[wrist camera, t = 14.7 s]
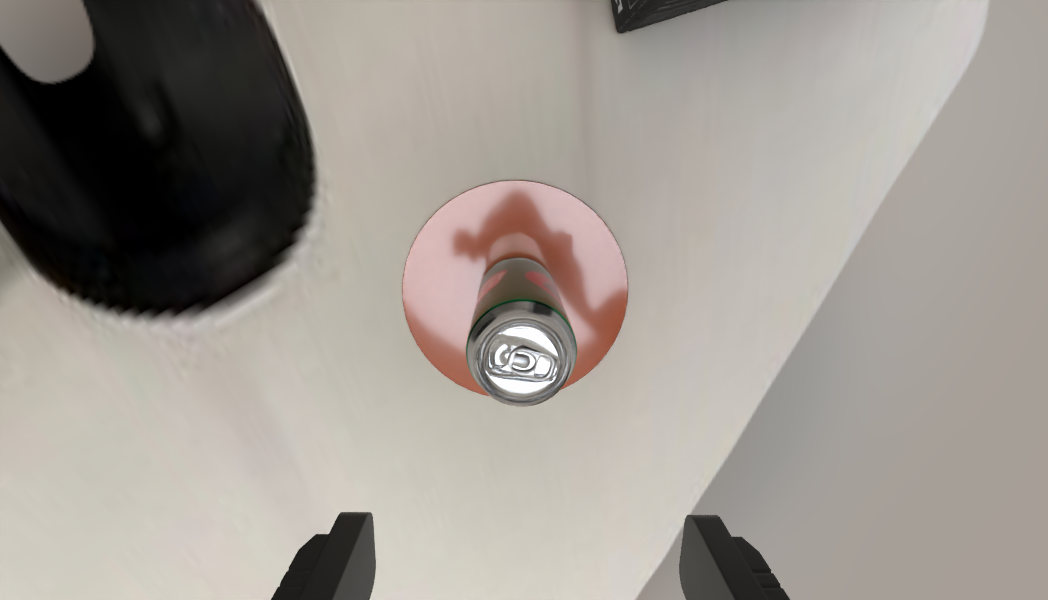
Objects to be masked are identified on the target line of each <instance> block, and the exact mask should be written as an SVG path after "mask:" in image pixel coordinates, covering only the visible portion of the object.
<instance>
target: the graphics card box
mask: <svg viewBox="0 0 1048 600" xmlns="http://www.w3.org/2000/svg"><path fill="white" fill-rule="evenodd" d="M723 1H727V0H611V2H612V10H613V14H614V18H615V23H616V28H617V32H618V33H625V32H627V31H632V30H634V29H638V28H642V27H645V26H647V25H651V24H653V23H657V22H660V21H664V20H667V19H671V18H674V17H677V16H679V15H682V14H686V13H687V12H692V11H696V10H698V9H702V8H706V7H708V6H711V5H714V4H717V3H720V2H723Z"/></svg>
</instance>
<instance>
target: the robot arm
mask: <svg viewBox="0 0 1048 600" xmlns="http://www.w3.org/2000/svg"><path fill="white" fill-rule="evenodd" d="M375 570H376V559H375V543H374V526H373V516H372V513H370V512H341V513H340V514H339V515H338V517H337V519H336V521H335V523H334V525H333V527H332V529H331V531H330V533H329V534H316V535H315V536H314V537H312V538H311V539H310V540H309V541H308V542H307V543H306V544H305V545H304V546H302V547H301V548H300V549H299V550H298V552H297V554H296V556H295V558H294V559H293V561H292V563H291V565H290V567H289V570H288V572H286V574H285V576H284V577H283V579H282V581H281V583H280V587H278V588H277V590H276V592H275V594H274V595H273V597H272V599H271V600H369V599H370V596H371V592H372V589H373V585H374V579H375ZM679 573H680V581H681V586H682V590H683V593H684V595H685V598H686V600H790V599H789V597H788V596H787V594H786V593H785V591H784V590H783V589H782V588H781V587H780V583H779V582H778V580H777V579H776V577H775V576H774V574H773V573H771V569H770V568H769V566H768V565H767V563H766V562H765V560H764V559H763V557H762V555H761V554H760V553H759V551H757V550H756V549H755V548H754V547H753V546H752V545H750V544H749V543H748V542H747V541H746V540H745V539H743V538H742V537H731V535H730V533H729V532H728V530H727V528H726V527H725V525H724V523H723V522H722V520H721V519H720V517H719V516H717V515H687V516H686V519H685V523H684V531H683V539H682V547H681V556H680V564H679Z"/></svg>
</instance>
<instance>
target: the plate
mask: <svg viewBox="0 0 1048 600" xmlns="http://www.w3.org/2000/svg"><path fill="white" fill-rule="evenodd" d="M509 258H527V259H530V260H533V261H535V262H537V263H539V264H540V265H542V266H543V267H544V268H545V269H546V270H547V271H548V272H549V274H550V275H551V277H552V279H553V281H554V283H555V286H556V288H557V291H558V293H559V296H560V298H561V301H562V304H563V306H564V309H565V311H566V314H567V316H568V319H569V322H570V324H571V327H572V329H573V332H574V335H575V338H576V343H577V359H576V363H575V367H574V369H573V371H572V374H571V375H570V377H569V379H568V380H567V381H566V383H565V384H564V385H563V387H562V388H561V389H563V388H565V387H567V386H569V385H571V384H573V383H575V382H576V381H578V380H579V379H581V378H582V377H583V376H585V375H586V374H587V373H589V372H590V371H591V370H592V369H593V368H594V367H595V366H596V365H597V364H598V363H599V362H600V361H601V360H602V358H603V357H604V356H605V355H606V354H607V352H608V351H609V349H610V348H611V346H612V345H613V343H614V341H615V339H616V337H617V335H618V333H619V331H620V329H621V326H622V323H623V320H624V316H625V312H626V306H627V298H628V281H627V272H626V267H625V263H624V259H623V256H622V253H621V251H620V248H619V245H618V244H617V242H616V240H615V238H614V236H613V234H612V232H611V231H610V230H609V228H608V227H607V226H606V224H605V223H604V221H603V220H602V219H601V218H600V217H599V216H598V215H597V214H596V213H595V212H594V211H593V210H592V209H591V208H590V207H588V206H587V205H586V204H585V203H583V202H582V201H581V200H579V199H577V198H576V197H574V196H572V195H571V194H569V193H567V192H565V191H563V190H560V189H558V188H555V187H553V186H549V185H546V184H542V183H538V182H531V181H523V180H507V181H500V182H493V183H489V184H485V185H482V186H478V187H475V188H473V189H471V190H468V191H466V192H464V193H462V194H460V195H458V196H457V197H455V198H453V199H452V200H450V201H449V202H447V203H446V204H445V205H444V206H442V207H441V208H440V209H439V210H438V211H437V212H436V213H435V214H434V215H433V216H432V217H431V218H430V219H429V220H428V221H427V222H426V224H425V225H424V226H423V228H422V229H421V231H420V232H419V234H418V235H417V237H416V239H415V241H414V243H413V245H412V247H411V249H410V252H409V255H408V258H407V260H406V265H405V270H404V274H403V286H402V294H403V306H404V311H405V316H406V320H407V322H408V325H409V328H410V331H411V333H412V335H413V337H414V339H415V341H416V343H417V345H418V346H419V348H420V349H421V351H422V352H423V354H424V355H425V356H426V358H427V359H428V360H429V361H430V362H431V363H432V364H433V365H434V367H436V368H437V369H438V370H439V371H440V372H441V373H442V374H444V375H445V376H446V377H448V378H449V379H451V380H452V381H454V382H455V383H457V384H459V385H461V386H463V387H465V388H467V389H469V390H471V391H474V392H477V393H479V394H482V395H487V396H490V395H489V394H488V393H486V392H485V391H484V390H483V389H482V388H481V387H480V386H479V385H478V383H477V382H476V381H475V380H474V378H473V376H472V374H471V372H470V370H469V367H468V364H467V359H466V344H467V339H468V335H469V330H470V326H471V322H472V318H473V313H474V309H475V305H476V301H477V297H478V292H479V288H480V285H481V282H482V279H483V278H484V276H485V274H486V273H487V272H488V270H489V269H490V268H491V267H493V266H494V265H495V264H497V263H498V262H501V261H503V260H505V259H509ZM561 389H560V390H561Z"/></svg>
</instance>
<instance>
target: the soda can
mask: <svg viewBox="0 0 1048 600" xmlns="http://www.w3.org/2000/svg"><path fill="white" fill-rule="evenodd" d="M466 359H467V364H468V367H469V370H470V372H471V374H472V376H473V378H474V380H475V381H476V382H477V383H478V385H479V386H480V387H481V388H482V389H483V390H484V391H485V392H486V393H488V394H489V395H490V396H491V397H493V398H494V399H496V400H497V401H499V402H502V403H504V404H507V405H512V406H532V405H536V404H539V403H542V402H544V401H546V400H548V399H549V398H551V397H553V396H554V395H555V394H556V393H557V392H558V391H559V390H560V389H561V388H562V387H563V385H564V384H565V383H566V381H567V380H568V379H569V377H570V375H571V374H572V371H573V369H574V367H575V363H576V359H577V343H576V338H575V335H574V332H573V329H572V327H571V324H570V322H569V319H568V316H567V314H566V311H565V309H564V306H563V304H562V301H561V298H560V296H559V293H558V291H557V288H556V286H555V283H554V281H553V279H552V277H551V275H550V274H549V272H548V271H547V270H546V269H545V268H544V267H543V266H542V265H540V264H539V263H537V262H535V261H533V260H530V259H527V258H509V259H505V260H503V261H501V262H498V263H497V264H495V265H494V266H493V267H491V268H490V269H489V270H488V272H487V273H486V274H485V276H484V278H483V279H482V282H481V285H480V288H479V292H478V297H477V301H476V305H475V309H474V313H473V318H472V322H471V326H470V330H469V335H468V339H467V344H466Z"/></svg>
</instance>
